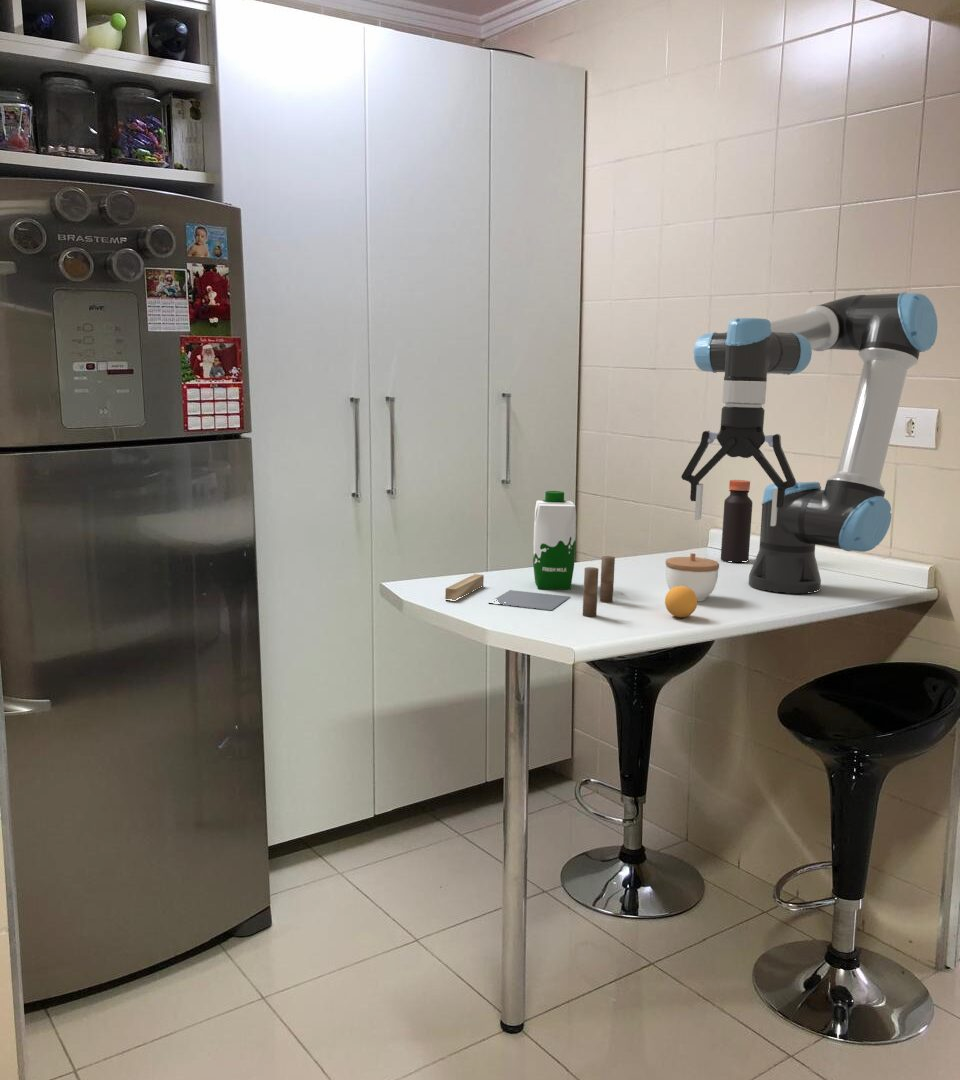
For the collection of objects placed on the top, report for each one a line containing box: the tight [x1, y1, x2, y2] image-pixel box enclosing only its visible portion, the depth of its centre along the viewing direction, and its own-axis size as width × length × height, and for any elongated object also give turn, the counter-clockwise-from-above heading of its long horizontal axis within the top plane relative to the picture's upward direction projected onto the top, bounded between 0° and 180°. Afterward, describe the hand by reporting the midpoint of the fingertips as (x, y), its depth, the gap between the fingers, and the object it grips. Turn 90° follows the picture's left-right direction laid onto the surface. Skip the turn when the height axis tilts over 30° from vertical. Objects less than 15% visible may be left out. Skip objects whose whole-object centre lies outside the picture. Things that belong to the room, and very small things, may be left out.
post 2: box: [599, 555, 616, 604], centre depth 204 cm, size 3×3×9 cm
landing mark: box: [494, 589, 571, 611], centre depth 204 cm, size 13×13×1 cm
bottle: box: [720, 479, 753, 562], centre depth 251 cm, size 7×7×20 cm
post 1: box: [582, 566, 600, 618], centre depth 192 cm, size 3×3×9 cm
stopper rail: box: [444, 573, 485, 600], centre depth 208 cm, size 2×16×2 cm, turn 159°
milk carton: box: [532, 490, 577, 590], centre depth 216 cm, size 9×9×20 cm
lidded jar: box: [665, 552, 720, 602], centre depth 209 cm, size 11×11×9 cm
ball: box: [664, 586, 698, 618], centre depth 193 cm, size 6×6×6 cm
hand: (735, 522), depth 187 cm, fingers open, 13 cm apart
